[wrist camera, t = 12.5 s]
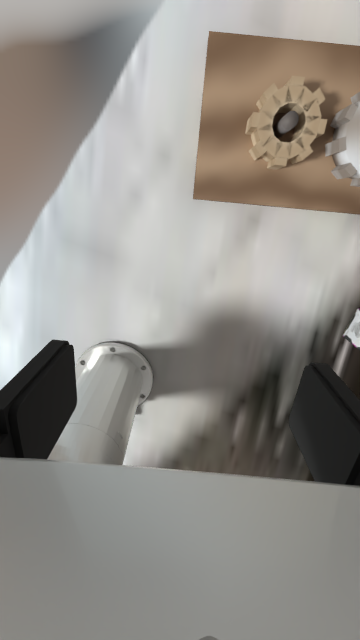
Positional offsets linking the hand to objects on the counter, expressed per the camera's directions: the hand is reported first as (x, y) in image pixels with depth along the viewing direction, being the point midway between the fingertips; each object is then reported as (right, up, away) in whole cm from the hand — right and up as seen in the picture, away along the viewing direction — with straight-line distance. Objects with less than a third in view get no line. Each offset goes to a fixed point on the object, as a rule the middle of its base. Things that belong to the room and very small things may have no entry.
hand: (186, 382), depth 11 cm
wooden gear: (+11, +23, +19) cm, 31 cm away
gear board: (+14, +24, +20) cm, 34 cm away
